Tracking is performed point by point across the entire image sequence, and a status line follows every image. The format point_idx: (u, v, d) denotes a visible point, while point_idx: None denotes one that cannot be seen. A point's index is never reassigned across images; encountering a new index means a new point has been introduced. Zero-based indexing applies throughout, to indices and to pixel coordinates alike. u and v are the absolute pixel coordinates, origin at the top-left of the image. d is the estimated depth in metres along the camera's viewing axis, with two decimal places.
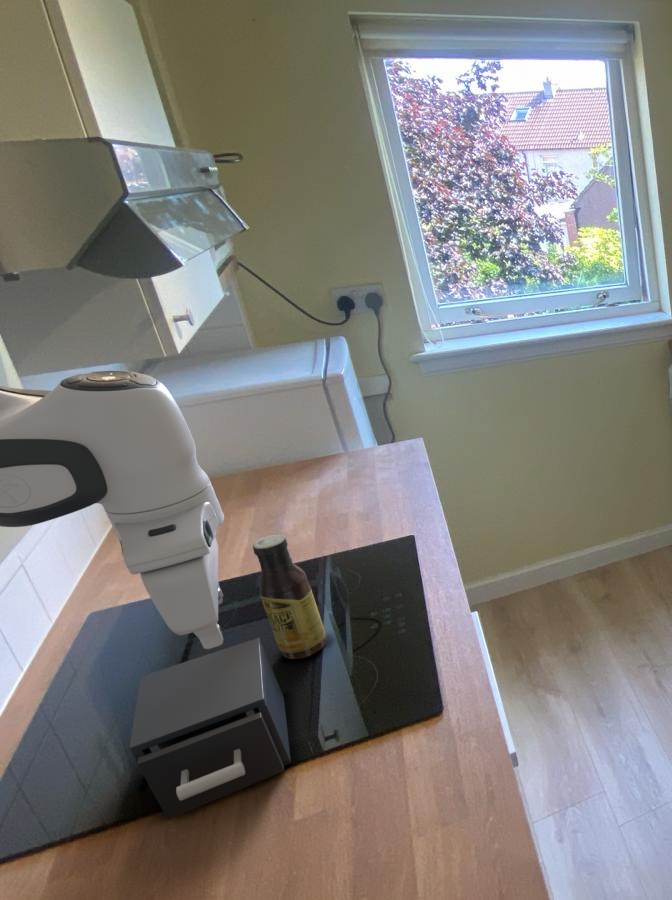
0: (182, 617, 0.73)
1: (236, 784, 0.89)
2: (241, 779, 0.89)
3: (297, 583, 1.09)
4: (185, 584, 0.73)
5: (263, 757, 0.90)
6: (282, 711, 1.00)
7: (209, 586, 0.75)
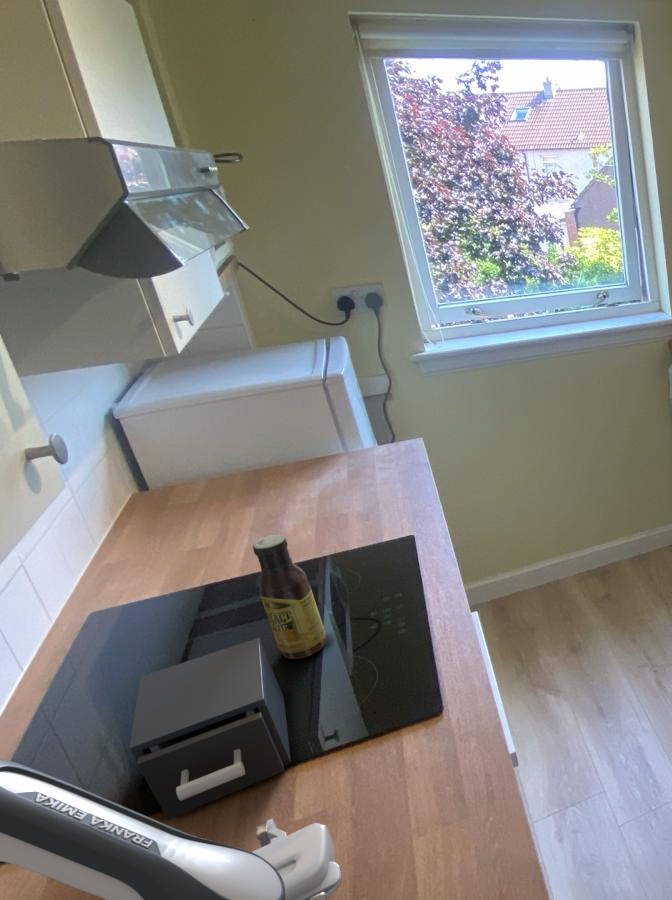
0: None
1: (236, 784, 0.89)
2: (241, 779, 0.89)
3: (297, 583, 1.09)
4: None
5: (263, 757, 0.90)
6: (282, 711, 1.00)
7: None
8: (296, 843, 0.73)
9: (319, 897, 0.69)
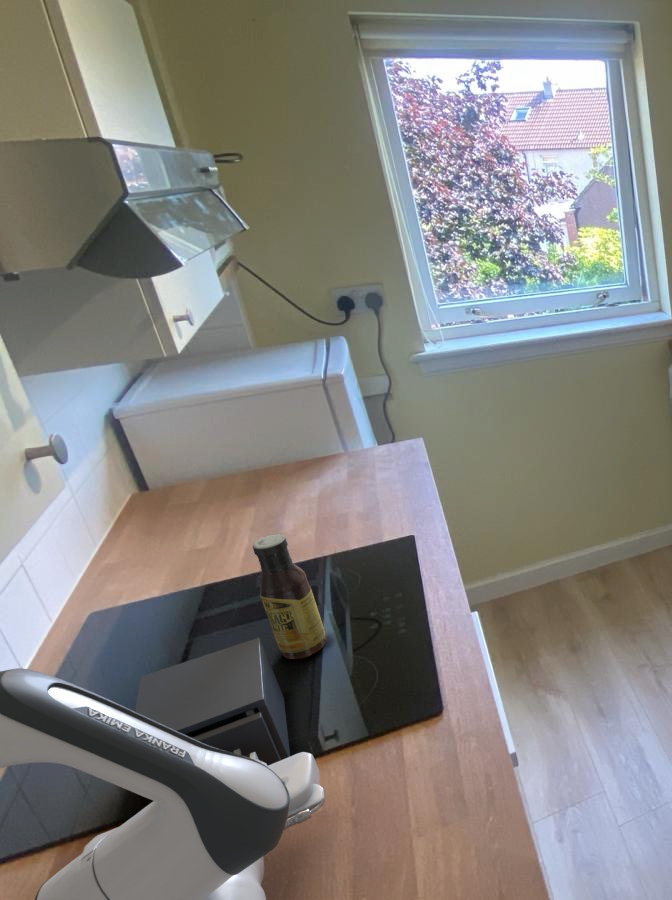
0: None
1: None
2: None
3: (297, 583, 1.09)
4: None
5: (263, 757, 0.90)
6: (282, 711, 1.00)
7: None
8: (285, 768, 0.83)
9: (304, 813, 0.79)
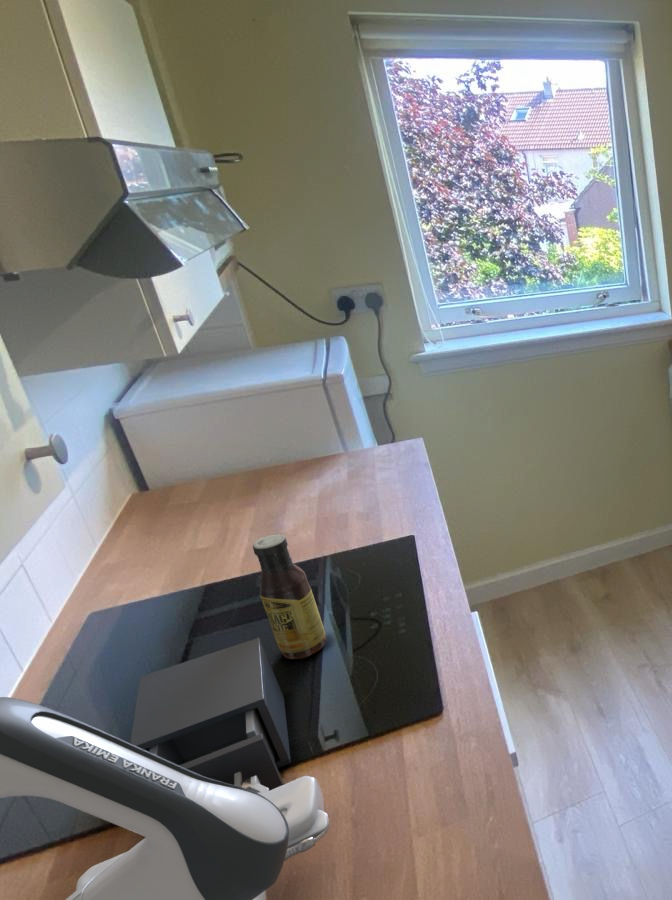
0: None
1: None
2: None
3: (297, 583, 1.09)
4: None
5: (265, 780, 0.87)
6: (282, 711, 1.00)
7: None
8: (288, 793, 0.80)
9: (308, 841, 0.76)
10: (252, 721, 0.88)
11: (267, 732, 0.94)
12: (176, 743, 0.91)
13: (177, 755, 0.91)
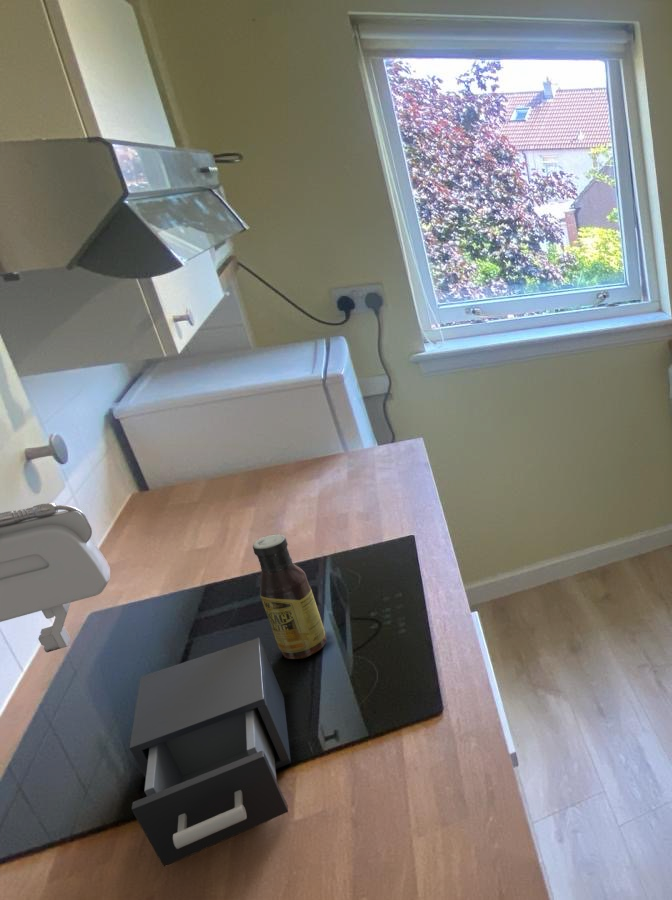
0: None
1: (237, 827, 0.83)
2: (242, 822, 0.84)
3: (297, 583, 1.09)
4: None
5: (266, 798, 0.84)
6: (282, 711, 1.00)
7: None
8: None
9: None
10: (253, 737, 0.86)
11: (268, 747, 0.92)
12: (175, 759, 0.89)
13: (176, 772, 0.88)
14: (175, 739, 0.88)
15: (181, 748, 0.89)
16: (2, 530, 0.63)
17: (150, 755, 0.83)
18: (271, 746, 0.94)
